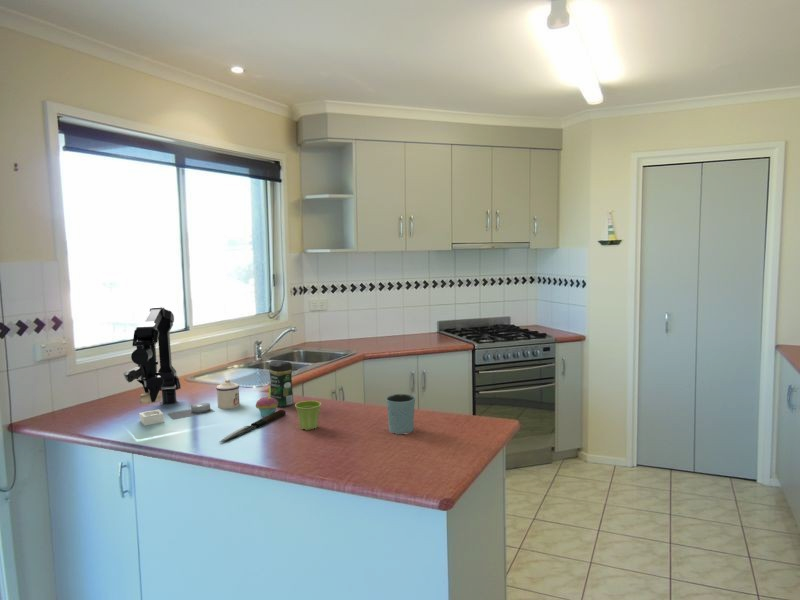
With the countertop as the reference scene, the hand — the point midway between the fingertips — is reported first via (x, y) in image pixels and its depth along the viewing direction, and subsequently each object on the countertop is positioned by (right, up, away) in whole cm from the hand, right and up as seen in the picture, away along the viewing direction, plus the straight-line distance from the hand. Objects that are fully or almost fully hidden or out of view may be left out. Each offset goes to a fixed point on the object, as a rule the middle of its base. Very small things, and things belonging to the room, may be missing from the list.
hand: (150, 400), depth 210 cm
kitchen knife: (+40, -10, -7) cm, 42 cm away
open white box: (0, -9, +1) cm, 9 cm away
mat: (+11, -8, +11) cm, 18 cm away
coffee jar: (+45, -6, +23) cm, 51 cm away
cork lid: (0, 0, 0) cm, 0 cm away
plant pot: (+61, -9, -8) cm, 62 cm away
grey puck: (+14, -7, +14) cm, 21 cm away
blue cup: (+94, -9, -14) cm, 96 cm away
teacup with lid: (+23, -7, +22) cm, 32 cm away
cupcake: (+42, -8, +8) cm, 44 cm away
